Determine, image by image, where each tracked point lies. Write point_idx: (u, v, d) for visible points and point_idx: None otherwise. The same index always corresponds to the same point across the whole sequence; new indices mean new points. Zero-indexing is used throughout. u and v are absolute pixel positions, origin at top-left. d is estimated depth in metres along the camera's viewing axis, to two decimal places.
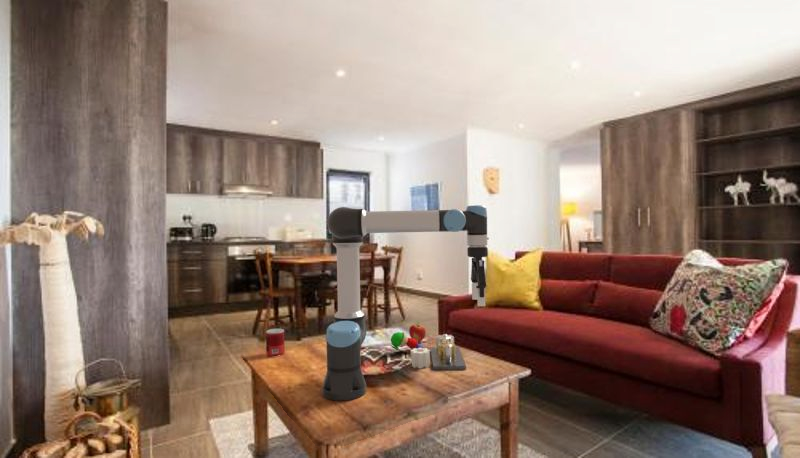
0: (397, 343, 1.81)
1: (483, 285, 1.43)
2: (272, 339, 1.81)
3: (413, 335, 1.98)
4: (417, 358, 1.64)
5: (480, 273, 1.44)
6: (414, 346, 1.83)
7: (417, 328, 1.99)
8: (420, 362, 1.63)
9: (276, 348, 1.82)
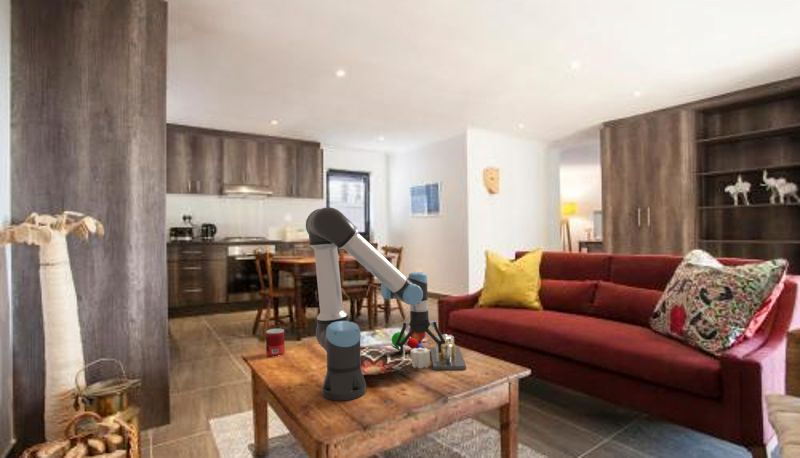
0: None
1: None
2: (272, 339, 1.81)
3: (413, 335, 1.98)
4: (417, 358, 1.64)
5: (400, 332, 1.68)
6: (415, 346, 1.83)
7: None
8: (420, 362, 1.63)
9: (276, 348, 1.82)
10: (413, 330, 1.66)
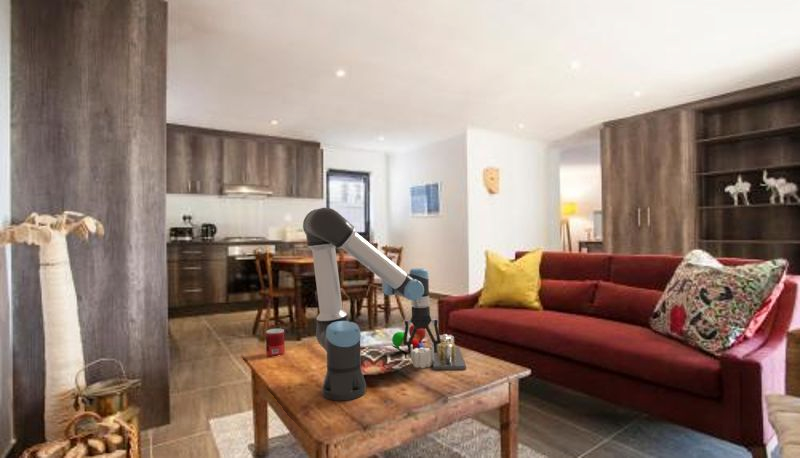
0: (398, 343, 1.82)
1: None
2: (272, 339, 1.81)
3: None
4: (419, 358, 1.64)
5: None
6: (415, 346, 1.83)
7: None
8: (422, 362, 1.63)
9: (276, 348, 1.82)
10: (416, 327, 1.65)
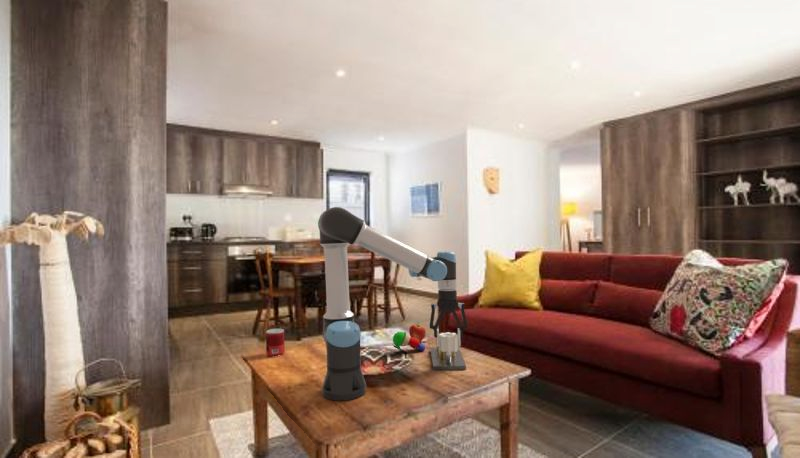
0: (399, 342, 1.82)
1: None
2: (272, 339, 1.81)
3: (413, 335, 1.98)
4: (446, 342, 1.62)
5: None
6: (416, 346, 1.84)
7: (417, 328, 1.99)
8: (449, 346, 1.61)
9: (276, 348, 1.82)
10: (442, 310, 1.63)
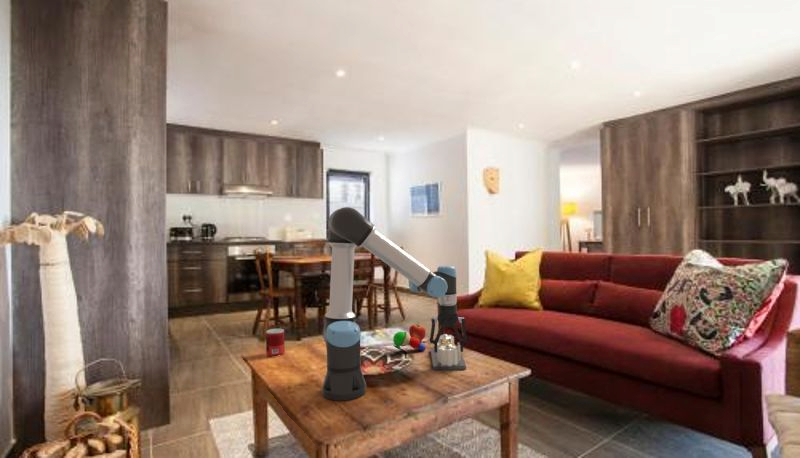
0: (399, 342, 1.82)
1: (430, 341, 1.65)
2: (272, 339, 1.81)
3: (413, 335, 1.98)
4: (446, 356, 1.62)
5: (431, 330, 1.65)
6: (416, 346, 1.84)
7: (417, 328, 1.99)
8: (449, 360, 1.61)
9: (276, 348, 1.82)
10: (443, 325, 1.63)
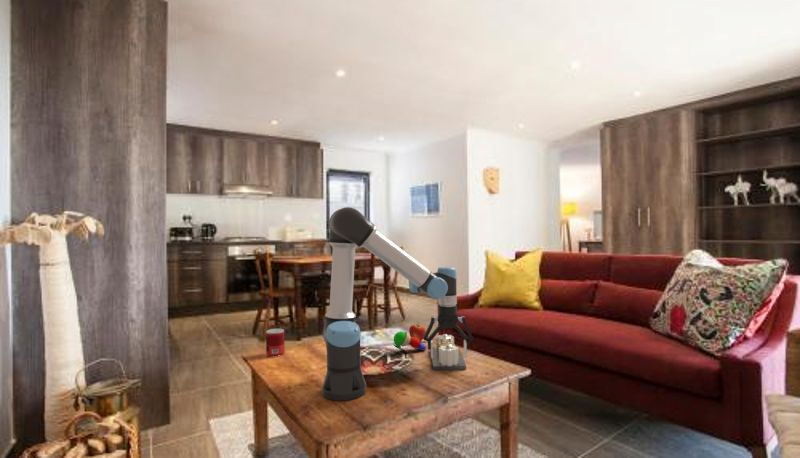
0: (399, 342, 1.82)
1: (423, 338, 1.65)
2: (272, 339, 1.81)
3: (413, 335, 1.98)
4: (446, 356, 1.62)
5: None
6: (417, 345, 1.84)
7: (417, 328, 1.99)
8: (449, 360, 1.61)
9: (276, 348, 1.82)
10: (441, 325, 1.63)
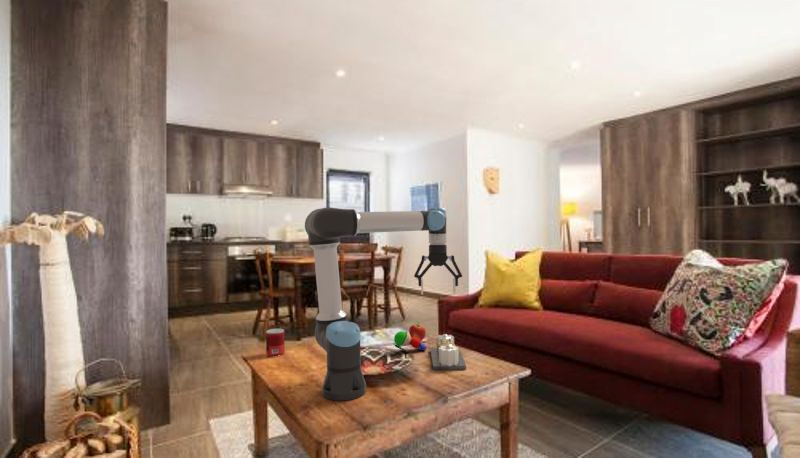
0: (400, 342, 1.83)
1: (414, 275, 1.72)
2: (272, 339, 1.81)
3: (413, 335, 1.98)
4: (446, 356, 1.62)
5: (418, 266, 1.73)
6: (417, 345, 1.84)
7: (417, 328, 1.99)
8: (449, 360, 1.61)
9: (276, 348, 1.82)
10: (431, 263, 1.70)
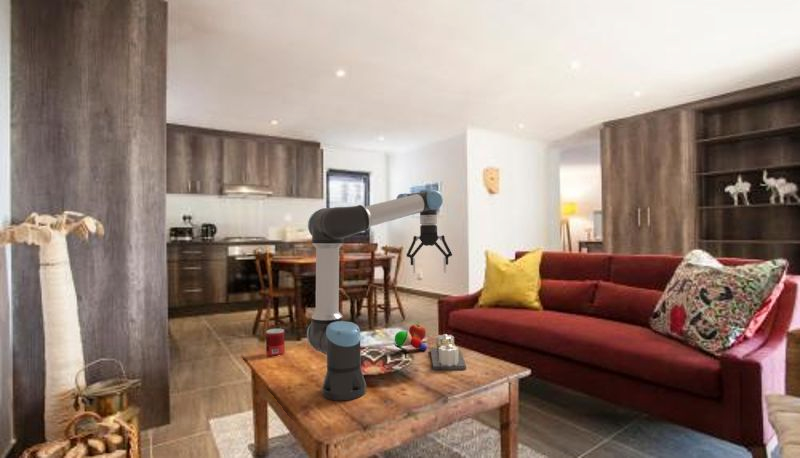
0: (400, 342, 1.83)
1: (406, 255, 1.80)
2: (272, 339, 1.81)
3: (413, 335, 1.98)
4: (446, 356, 1.62)
5: (410, 246, 1.80)
6: (417, 345, 1.84)
7: (417, 328, 1.99)
8: (449, 360, 1.61)
9: (276, 348, 1.82)
10: (423, 242, 1.78)
